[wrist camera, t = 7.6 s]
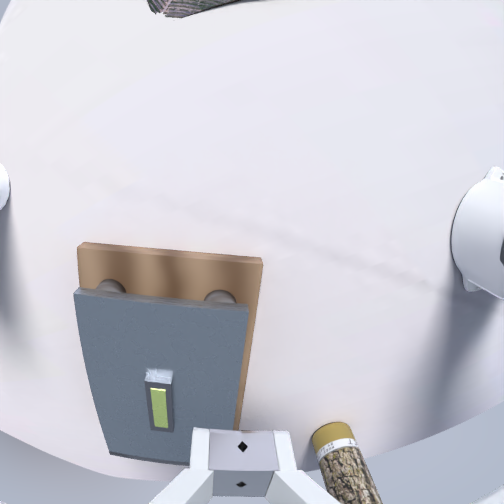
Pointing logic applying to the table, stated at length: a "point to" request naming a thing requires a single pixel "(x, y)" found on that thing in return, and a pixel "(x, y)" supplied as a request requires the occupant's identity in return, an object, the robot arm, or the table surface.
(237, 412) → the leveling base
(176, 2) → the terrain model
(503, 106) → the table surface
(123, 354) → the plate
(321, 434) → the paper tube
